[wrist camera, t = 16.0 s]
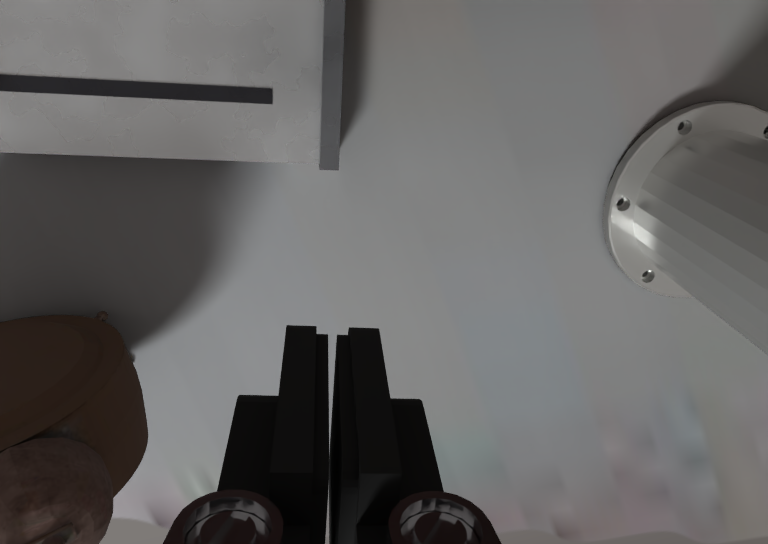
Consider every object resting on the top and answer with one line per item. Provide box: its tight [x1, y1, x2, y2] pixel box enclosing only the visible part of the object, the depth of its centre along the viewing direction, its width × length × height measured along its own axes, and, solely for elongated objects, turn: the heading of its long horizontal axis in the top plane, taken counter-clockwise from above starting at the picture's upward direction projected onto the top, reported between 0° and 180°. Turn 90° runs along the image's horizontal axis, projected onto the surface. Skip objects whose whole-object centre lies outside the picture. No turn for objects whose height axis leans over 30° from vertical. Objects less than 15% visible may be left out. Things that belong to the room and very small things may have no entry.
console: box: [0, 0, 345, 170], centre depth 32 cm, size 26×14×3 cm, turn 86°
